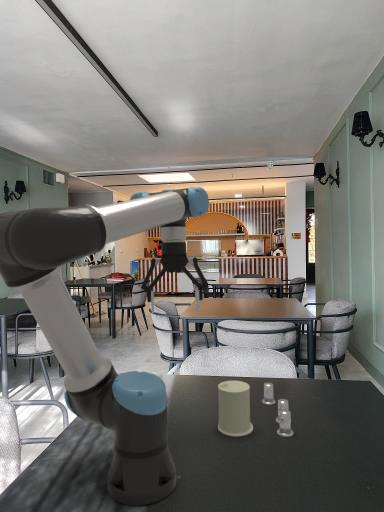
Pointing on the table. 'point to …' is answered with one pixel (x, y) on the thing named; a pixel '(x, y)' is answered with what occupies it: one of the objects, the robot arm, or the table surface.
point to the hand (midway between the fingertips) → (175, 312)
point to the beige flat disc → (237, 433)
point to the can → (234, 406)
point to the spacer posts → (279, 411)
